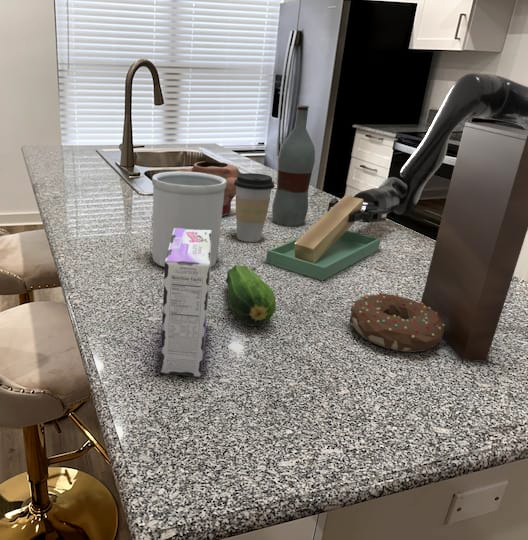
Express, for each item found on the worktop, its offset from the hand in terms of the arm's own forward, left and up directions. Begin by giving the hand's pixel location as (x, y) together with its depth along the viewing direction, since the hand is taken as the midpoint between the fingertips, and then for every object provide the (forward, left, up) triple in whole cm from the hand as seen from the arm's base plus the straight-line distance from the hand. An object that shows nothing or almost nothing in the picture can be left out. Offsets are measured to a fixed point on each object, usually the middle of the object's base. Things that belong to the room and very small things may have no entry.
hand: (339, 215), depth 114 cm
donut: (0, +40, -9) cm, 41 cm away
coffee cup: (+19, -6, -9) cm, 22 cm away
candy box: (+33, +48, -9) cm, 59 cm away
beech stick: (+2, +2, -4) cm, 5 cm away
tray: (+3, +4, -9) cm, 10 cm away
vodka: (+7, -22, -9) cm, 25 cm away
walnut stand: (-9, +38, -9) cm, 40 cm away
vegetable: (+23, +32, -9) cm, 40 cm away
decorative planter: (+29, -27, -9) cm, 41 cm away
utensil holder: (+34, +11, -9) cm, 37 cm away
